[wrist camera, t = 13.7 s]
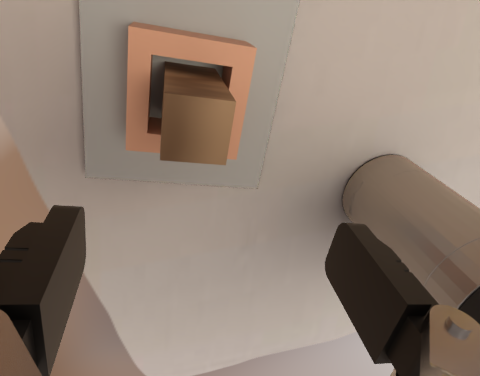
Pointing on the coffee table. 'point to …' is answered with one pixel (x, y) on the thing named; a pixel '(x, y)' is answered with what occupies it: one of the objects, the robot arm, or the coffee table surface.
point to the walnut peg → (195, 115)
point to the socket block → (152, 80)
